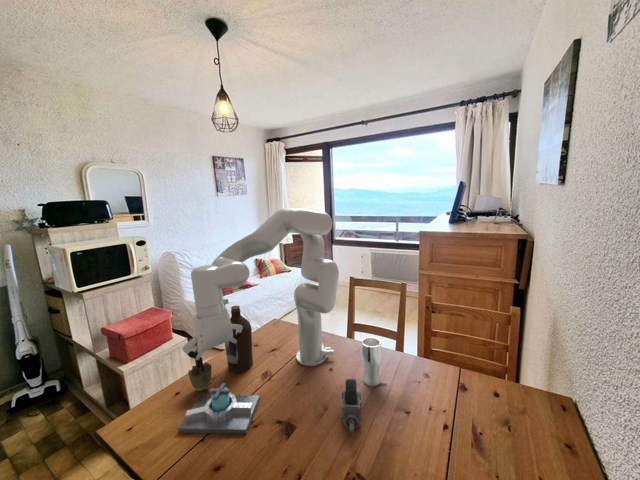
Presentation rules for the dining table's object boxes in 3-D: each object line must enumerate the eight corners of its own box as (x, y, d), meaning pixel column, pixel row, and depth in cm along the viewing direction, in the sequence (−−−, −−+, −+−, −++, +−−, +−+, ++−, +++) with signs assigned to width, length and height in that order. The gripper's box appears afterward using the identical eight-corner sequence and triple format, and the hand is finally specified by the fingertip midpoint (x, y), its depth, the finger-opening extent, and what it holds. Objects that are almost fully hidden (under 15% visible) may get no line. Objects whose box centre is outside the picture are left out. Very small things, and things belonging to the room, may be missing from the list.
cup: (205, 398, 88) (202, 376, 87) (186, 395, 90) (183, 374, 88) (217, 383, 95) (215, 362, 94) (200, 380, 97) (197, 361, 96)
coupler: (226, 401, 84) (224, 382, 83) (232, 410, 80) (230, 390, 79) (210, 410, 81) (208, 389, 80) (216, 419, 77) (214, 398, 76)
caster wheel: (342, 401, 85) (341, 438, 71) (342, 373, 85) (340, 404, 70) (360, 402, 85) (362, 440, 70) (359, 373, 84) (361, 405, 69)
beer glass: (359, 384, 91) (359, 345, 89) (364, 372, 98) (363, 335, 95) (380, 389, 89) (379, 348, 86) (383, 376, 95) (382, 338, 93)
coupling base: (259, 399, 86) (258, 388, 86) (246, 434, 74) (245, 421, 73) (201, 398, 88) (200, 388, 87) (178, 432, 75) (176, 420, 74)
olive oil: (241, 355, 112) (236, 299, 108) (259, 362, 106) (255, 304, 103) (221, 369, 103) (214, 309, 99) (239, 378, 97) (233, 314, 94)
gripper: (233, 296, 84) (239, 344, 87) (174, 314, 73) (183, 369, 76) (244, 302, 78) (250, 354, 81) (181, 323, 67) (190, 382, 70)
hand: (217, 361), depth 78 cm, fingers open, 9 cm apart
